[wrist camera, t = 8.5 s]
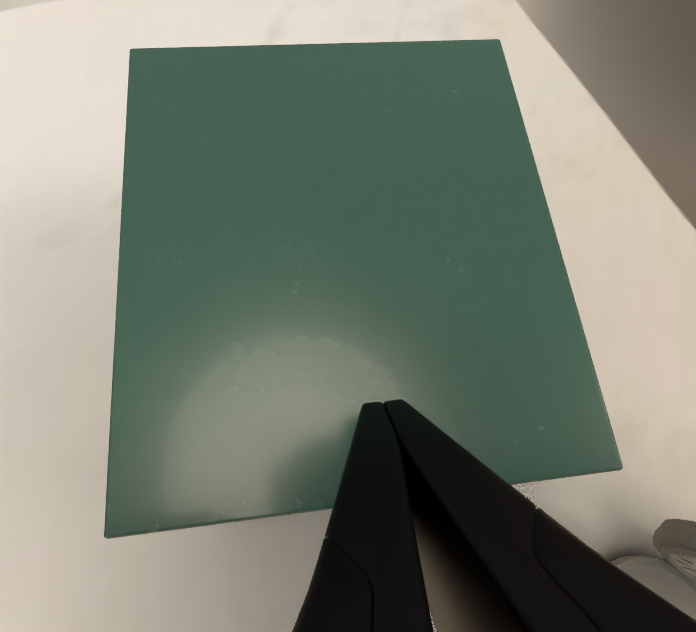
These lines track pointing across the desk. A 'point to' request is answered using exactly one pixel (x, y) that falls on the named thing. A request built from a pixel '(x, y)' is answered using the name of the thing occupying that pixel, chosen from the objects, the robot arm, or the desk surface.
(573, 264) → the desk surface
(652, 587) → the pocket watch
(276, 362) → the lid
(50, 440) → the desk surface
